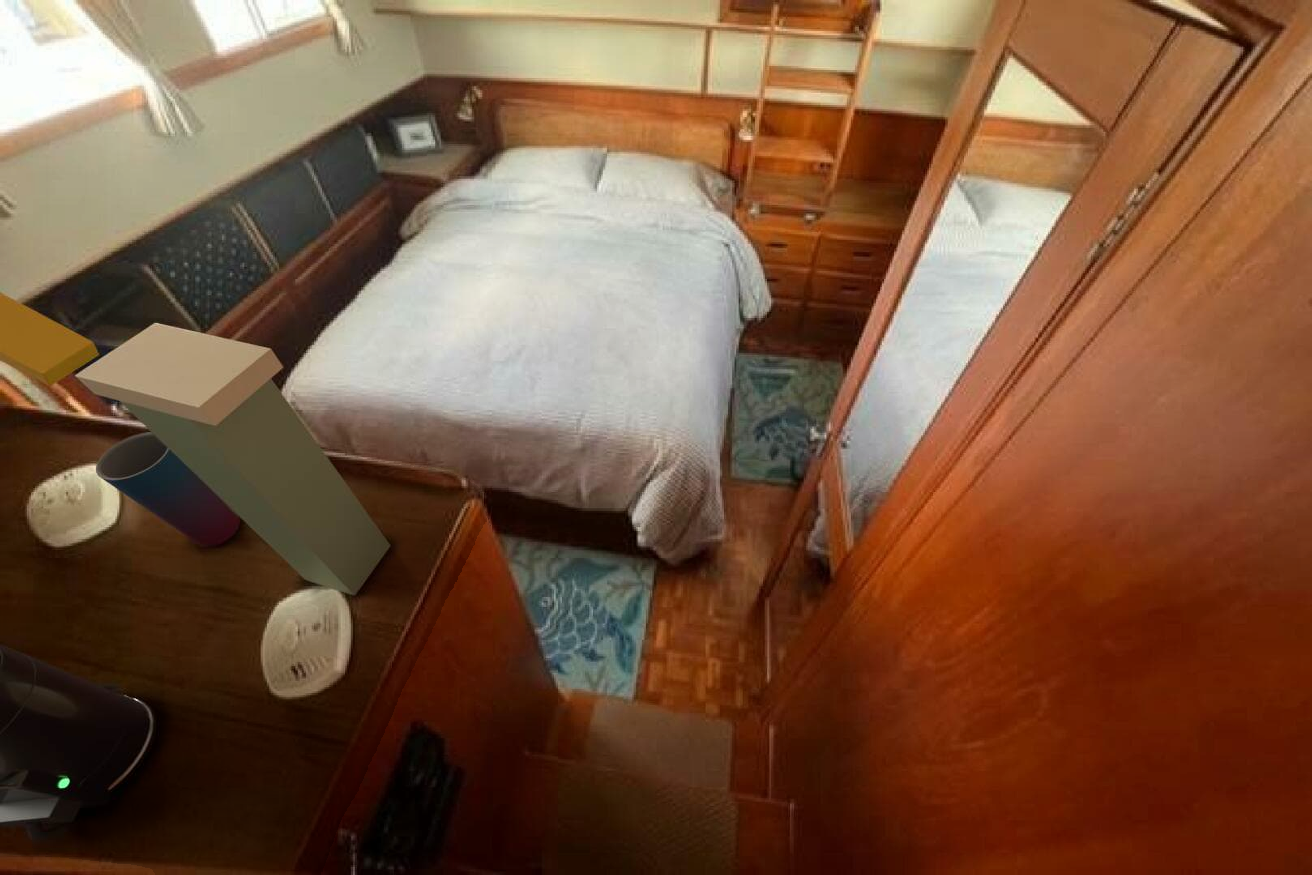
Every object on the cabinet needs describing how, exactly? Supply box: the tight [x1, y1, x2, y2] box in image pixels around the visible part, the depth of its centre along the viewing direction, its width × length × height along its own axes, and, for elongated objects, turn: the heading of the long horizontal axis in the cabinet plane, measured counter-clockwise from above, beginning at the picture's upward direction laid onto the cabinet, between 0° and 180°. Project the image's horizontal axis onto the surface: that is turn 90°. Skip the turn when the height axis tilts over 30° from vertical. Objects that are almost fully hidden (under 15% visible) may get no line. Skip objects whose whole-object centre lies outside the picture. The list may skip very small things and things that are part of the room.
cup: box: [95, 431, 241, 548], centre depth 64 cm, size 7×7×15 cm
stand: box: [74, 322, 391, 597], centre depth 54 cm, size 12×7×32 cm, turn 73°
